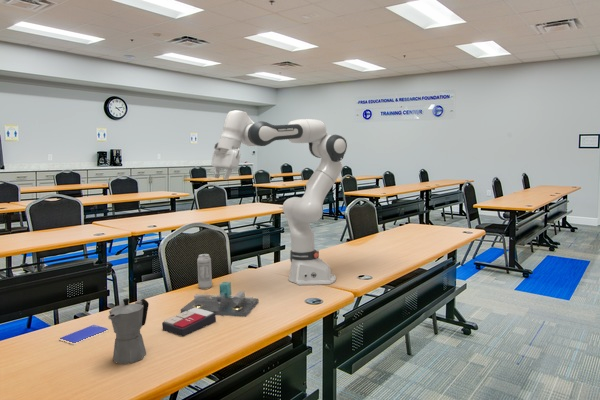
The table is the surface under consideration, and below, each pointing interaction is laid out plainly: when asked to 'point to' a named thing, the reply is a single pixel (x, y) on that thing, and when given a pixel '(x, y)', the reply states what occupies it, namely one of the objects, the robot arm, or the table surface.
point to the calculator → (189, 321)
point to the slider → (224, 291)
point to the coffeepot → (129, 331)
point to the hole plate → (223, 304)
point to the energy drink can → (204, 271)
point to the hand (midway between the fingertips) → (220, 178)
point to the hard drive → (84, 333)
